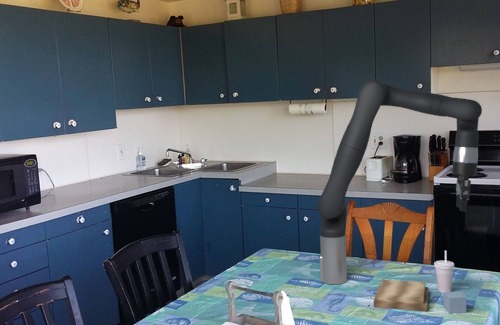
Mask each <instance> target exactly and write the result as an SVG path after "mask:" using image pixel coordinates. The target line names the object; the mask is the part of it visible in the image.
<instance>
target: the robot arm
mask: <svg viewBox="0 0 500 325" xmlns="http://www.w3.org/2000/svg"><path fill="white" fill-rule="evenodd" d="M381 106H382V107H383V106H384V107H385V106H386V107H388V106H389V107H397V108H401V109H406V110H410V111H415V112H418V113H422V114H426V115H430V116H437V117H445V118H446V117H447V118H453V119H456V134H455V142H454V143H455V144H454V150H453V158H452V168H451V170H452V171H451V173H452V175H455V176H457V177H456V183H455V185H456V186H455V187H456V188H455V193H456V208H459V211H460V212H464V213H465V212H467V211H468V201H469V200H470V198H471V197H470V196H471V194H470V193H471V185H472V181H471V180H470V178H469V177H475V176H477V174H478V161H479V160H478V159H479V148H478V147H479V136H480V135H479V131H478V129H479V120H480V119H479V118H480V117H481V115H482V112H483V108H482V105H481V104H480V103H479V102H478V101H477V100H473V99H469V98H463V97H452V96H448V95H444V94H438V93H433V92H426V91H418V90H417V91H416V90H411V89H409V90H408V89H402V88H398V87H396V86H392V85H389V84H387V83H384V82H383V81H380V80H378V79H369V80H366V81H364V82H363V83H362V84H361V86H360V88H359V90H358V95H357V97H356V102H355V106H354V110H353V112H352V115H351V118H350V120H349V122H348V124H347V126H346V128H345V131H344V132H343V134H342V137H341V140H340V141H339V142H340V143H339V145H338V148H337V150H336V153H335V157H334V160H333V164H332V167H331V170H330V173H329V174H330V175H329V178H328V180H327V183H326V185H325V187H324V189H323V191H322V193H321V195H320V197H319V198H318V200H317V205H316V206H317V207H316V208H317V210H318V213H319V214H320V223H319V224H320V226H319V240H320V242H319V244H320V256H319V277H320V278H319V279H320V283H324V284H327V285H328V284H329V285H341V284H345V283H347V282H348V271H347V270H348V268H347V267H348V266H347V244H346V243H347V240H346V239H347V238H346V229H347V228H346V226H347V212H346V211H347V208H346V199H345V198H346V196H347V191H348V190H349V186H350V184H351V182H352V180H353V178H354V176H355V175H356V174H357V171H358V169H359V168H360V165H361V164H362V161H363V158H364V156H365V153H366V151H367V148H368V145H369V141H370V138H371V137H370V136H371V131H372V127H373V124H374V121H375V119H376V117H377V115H378V112H379V110H380V107H381Z"/></svg>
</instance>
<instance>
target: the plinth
mask: <svg viewBox="0 0 500 325" xmlns="http://www.w3.org/2000/svg"><path fill="white" fill-rule="evenodd" d="M429 292H430V291H429V286H428V287H427V286H426V282H424V281H410V280H409V281H408V280H395V279H394V280H393V279H381V282H380V283H379V284H378V288H377V290H376V292H375V296H374V299H373V308H377V309H378V308H380V309H390V310H391V309H392V310H401V311H402V310H404V311H405V310H406V311H415V312H417V311H418V312H425V313H426V312H428V303H429V294H430V293H429Z"/></svg>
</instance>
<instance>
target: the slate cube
mask: <svg viewBox="0 0 500 325" xmlns="http://www.w3.org/2000/svg"><path fill="white" fill-rule="evenodd" d="M442 294H443V308H444V310H445V311H446V310H447V311H448V312H447V313H448V314H452V315H453V313H457V314H467V297H466V295H464V294H463V293H462V292H461V291H459V290H457V291H450V292H443V293H442Z"/></svg>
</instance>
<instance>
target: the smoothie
mask: <svg viewBox="0 0 500 325" xmlns="http://www.w3.org/2000/svg"><path fill="white" fill-rule="evenodd" d="M447 252H448V251H447V250H444V260H436V261H434V263H433V267H434V268H435V274H436V281H437V288H438V289H437V290H438V292H439V293H442V294H443V292H452V290H451V289H452V282H453V272H454V268H455V263H454V262H453V261H450V260H447V259H448V258H447V254H448V253H447Z"/></svg>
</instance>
